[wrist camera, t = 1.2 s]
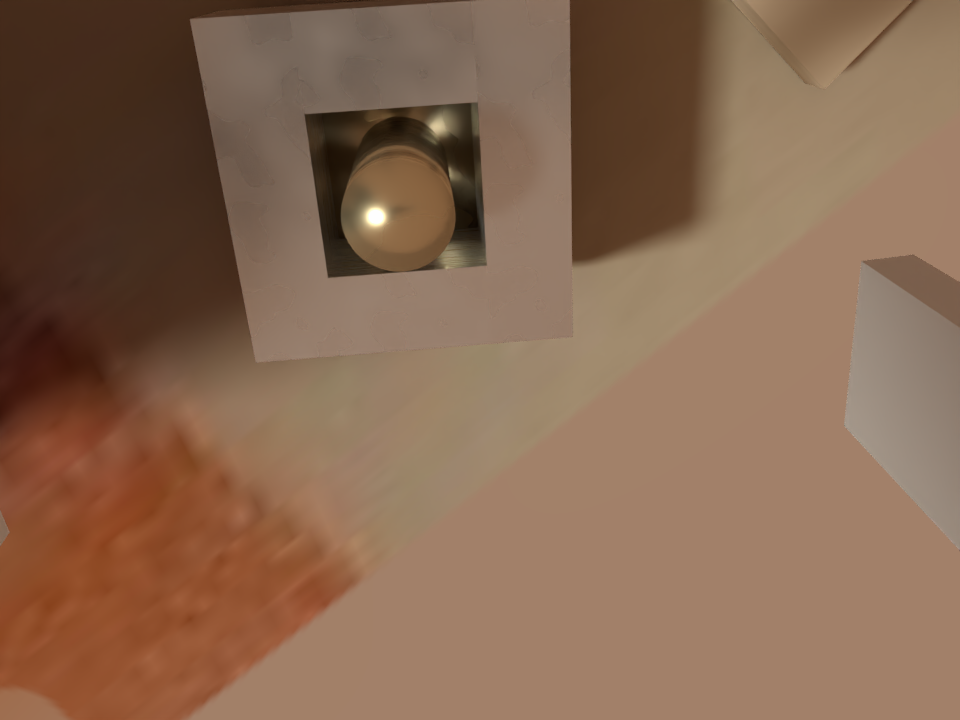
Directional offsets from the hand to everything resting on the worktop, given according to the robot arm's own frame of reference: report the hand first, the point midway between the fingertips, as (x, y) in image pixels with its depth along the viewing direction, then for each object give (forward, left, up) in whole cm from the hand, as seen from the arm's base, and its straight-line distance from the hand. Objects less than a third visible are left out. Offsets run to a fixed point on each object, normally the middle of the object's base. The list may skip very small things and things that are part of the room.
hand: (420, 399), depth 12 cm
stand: (0, -1, -19) cm, 19 cm away
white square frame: (0, -1, -17) cm, 17 cm away
